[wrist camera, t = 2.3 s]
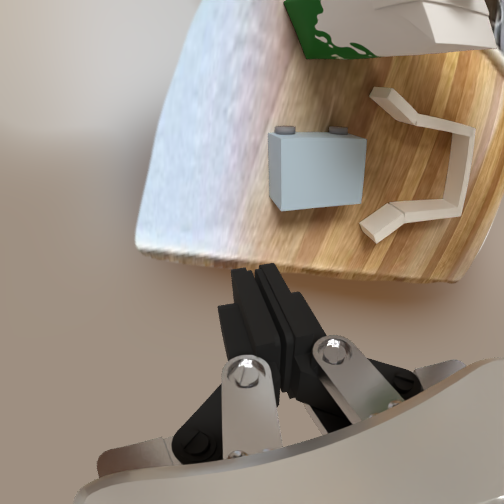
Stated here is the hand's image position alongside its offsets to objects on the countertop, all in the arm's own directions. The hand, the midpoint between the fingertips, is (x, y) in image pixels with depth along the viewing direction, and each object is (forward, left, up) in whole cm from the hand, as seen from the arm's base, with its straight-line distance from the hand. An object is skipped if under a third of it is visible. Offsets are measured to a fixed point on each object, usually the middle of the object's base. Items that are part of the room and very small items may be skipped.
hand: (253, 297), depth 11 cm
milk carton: (-16, +12, -20) cm, 28 cm away
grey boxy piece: (0, +10, -20) cm, 22 cm away
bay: (0, +27, -20) cm, 33 cm away
